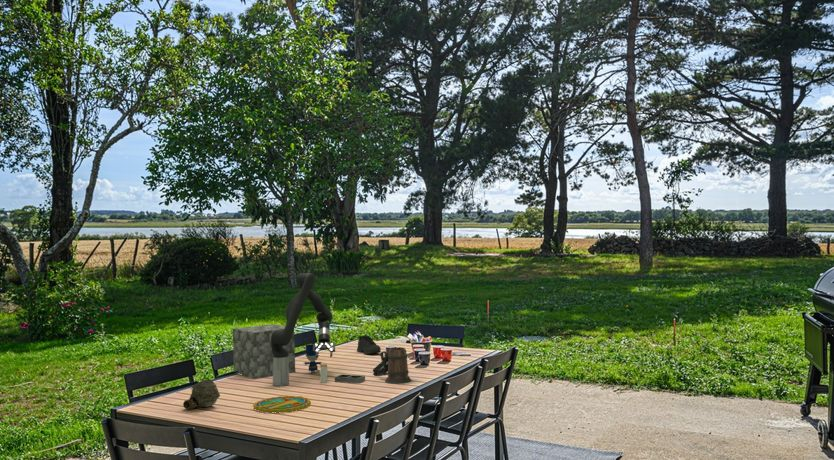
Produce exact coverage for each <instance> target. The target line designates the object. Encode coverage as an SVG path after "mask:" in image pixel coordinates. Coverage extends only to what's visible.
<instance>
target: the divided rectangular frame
mask: <svg viewBox="0 0 834 460" xmlns="http://www.w3.org/2000/svg"><path fill="white" fill-rule="evenodd" d="M365 381H366V375H356V374H342V373H341V374H338V375H336V376H334V382H335V383H346V382H347V383H348V384H361V383H364V382H365Z"/></svg>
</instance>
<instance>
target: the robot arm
mask: <svg viewBox="0 0 834 460" xmlns="http://www.w3.org/2000/svg"><path fill="white" fill-rule="evenodd" d="M295 280H296V284H297V286H298V287H299V288H300V290H299V291H298V292H297V293H296V294H295V295H294V296H293V297H292V298H291V299H290V300H289V301H288V304H287V306H286V309H285V319H286V323H285V325H284V326H285V328H284V330H283V331H281V330H276V331H274V332H273V333H272V336H271V347H272V353H273V376H272V386H276V387H284V386H288V385H289V384H290V373H289V360H288V351H286V350H285V349H284V348H283V346H286V345H288V344H289V342H290V340H291V338H292V334H293V331H294V332H295V329H296V325H297V322H298V319H299V318H300V315H301V313H302V311H303V308H304V305H305V304H306V300H307V299H308V300H309V302H310V304H311V305H312V308H313V309H314V311H315V312H317V314H316V317H315V318H316V321H317V323H318V336H317V337H318V342H317V343H315V342H313V343H312V344H313V353H316V357H317V358H319V357H318V355H319V354H318V352H319V353H320V352H321V351H328V352H329V357H330V358H333V353H335V352H336V343H335V342H331V331H330V330H331V329H330V328H331V327H330V323H329V321H332V320H333V313H332V312H331V310H330V309H329V308H328V307H327V306H326V305H325V303H324V302H323V300H322V298H321V296H320V295H319V294H318V293H316V292H315V291H314V290H313V289H312V288H313V287H314V285H315V283H316V277H315V274H314V273H312V272H301V273H298V274H297V276H296V278H295ZM317 346H318V348H317V349H316V350H315V348H316V347H317ZM331 347H332V348H331Z"/></svg>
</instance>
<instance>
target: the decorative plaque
mask: <svg viewBox="0 0 834 460" xmlns="http://www.w3.org/2000/svg"><path fill="white" fill-rule="evenodd" d="M310 406H311V399H310V398H308V397H305V396H301V395H300V396H299V395H298V396H295V395H285V396H284V395H283V396H282V395H280V396H273V397H268V398H267V397H266V398H263V399H261V400H257V402H254V404H253V406H252V407H254V408H253V410H254V409H256V410H259V411H263V412H269V413H268V414H270V413H272V412H276V413H275V414H277V413H278V414H280V413H279V412H287V413H293V412H297V411H296V410H299V409H303V410H305V409H307V408H308V407H310ZM256 410H255V411H256ZM259 411H258V412H259ZM292 411H293V412H292ZM299 411H300V410H299ZM263 412H262V413H263ZM272 414H273V413H272Z"/></svg>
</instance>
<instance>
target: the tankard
mask: <svg viewBox="0 0 834 460" xmlns="http://www.w3.org/2000/svg"><path fill="white" fill-rule="evenodd" d="M388 353H389V354H388ZM384 357H385V359H387V358H388V371H387V372H386V361H385V359H384ZM380 359H381V362H382V361H383V365H384V369H383V373H382V374H381V372H382V369H381V368H380V369H378V370H377V373H378V375H377V376H379V377H380V376H384V375H385V374H386V373H387V377H386V379H385V380H384V383H385V384H391V385H402V384H404V385H405V384H408V383H412V380H413V379H412V378H411V377H410V376H409V368H408V367H409V365H408V354H407V350H406V348H405V347H403V346H402V347H390V348H389V350H388V351H386V350H385V351H384V350H383V351H381V352H380ZM380 371H381V372H380ZM385 372H386V373H385Z"/></svg>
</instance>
